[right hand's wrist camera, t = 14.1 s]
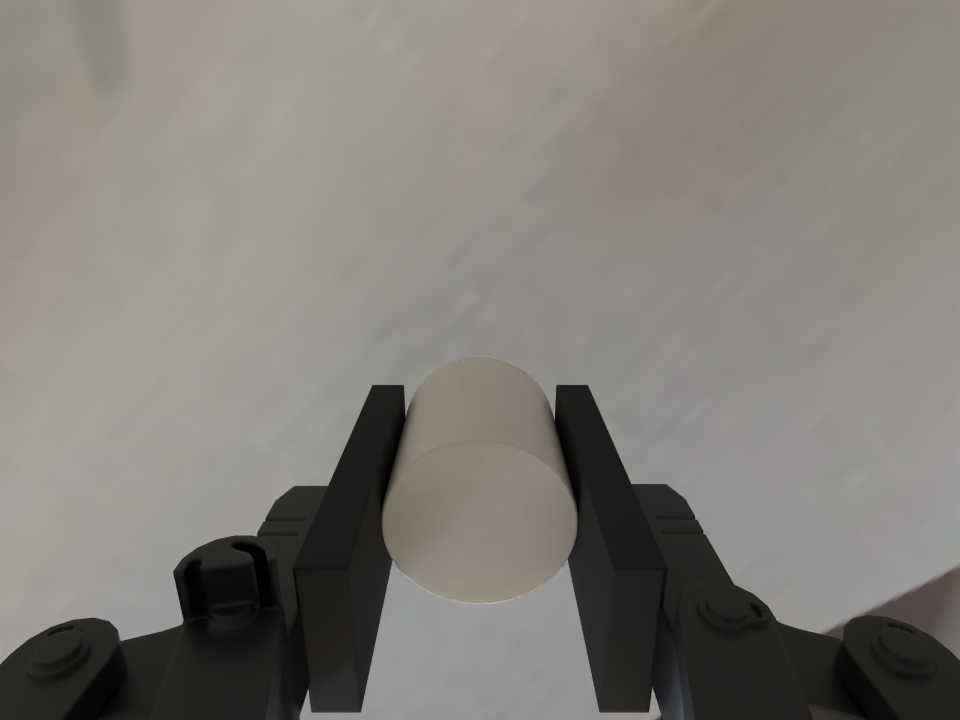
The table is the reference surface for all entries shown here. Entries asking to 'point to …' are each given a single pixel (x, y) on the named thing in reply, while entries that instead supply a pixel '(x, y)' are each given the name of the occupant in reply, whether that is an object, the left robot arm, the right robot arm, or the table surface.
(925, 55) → the table surface
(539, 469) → the can
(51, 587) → the table surface
